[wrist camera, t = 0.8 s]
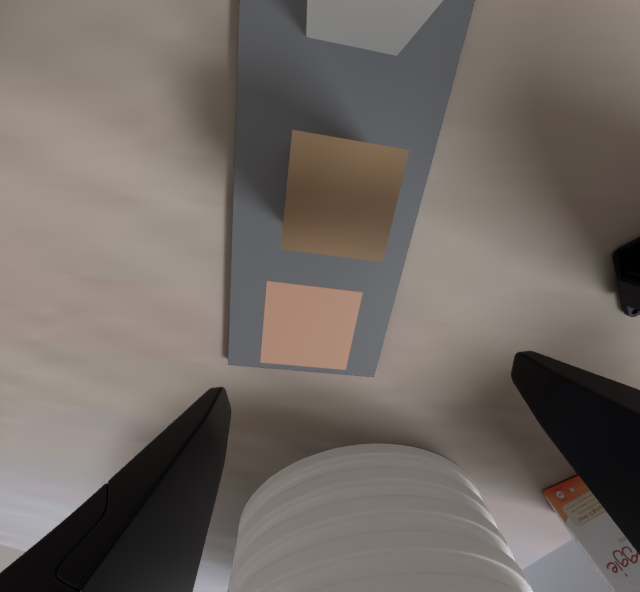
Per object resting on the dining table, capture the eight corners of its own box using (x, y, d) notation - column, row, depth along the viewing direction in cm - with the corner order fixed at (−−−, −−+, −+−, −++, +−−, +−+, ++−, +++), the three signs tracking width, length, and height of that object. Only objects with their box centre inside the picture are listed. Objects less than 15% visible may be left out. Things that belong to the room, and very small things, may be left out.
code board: (247, -155, 13) (244, -169, 13) (493, -87, 15) (501, -98, 14) (229, 360, 24) (228, 364, 23) (372, 372, 25) (373, 377, 25)
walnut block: (295, 141, 18) (292, 129, 12) (376, 155, 18) (409, 149, 13) (286, 226, 19) (280, 248, 14) (360, 236, 20) (382, 262, 14)
